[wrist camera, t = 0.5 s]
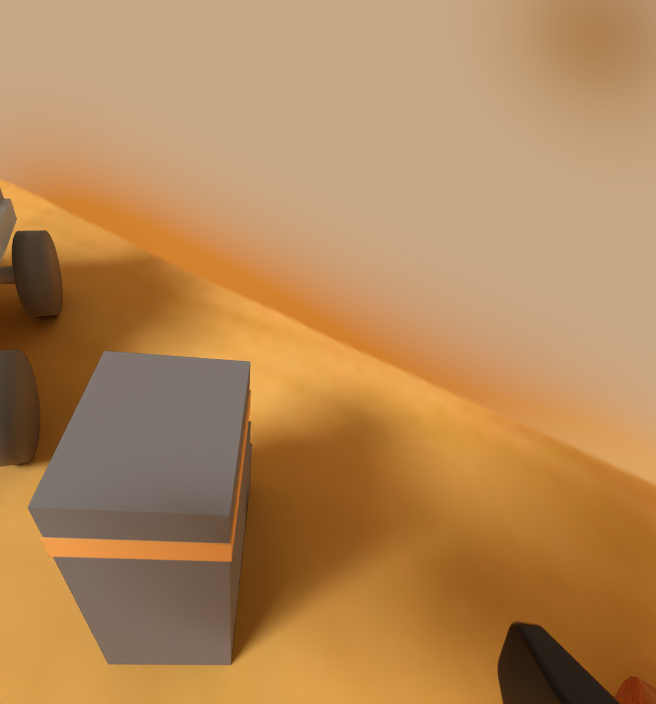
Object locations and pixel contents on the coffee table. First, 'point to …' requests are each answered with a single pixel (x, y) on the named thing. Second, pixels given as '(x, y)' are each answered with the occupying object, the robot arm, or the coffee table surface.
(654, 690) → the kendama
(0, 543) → the coffee table surface
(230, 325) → the coffee table surface
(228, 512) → the grey box
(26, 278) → the trolley
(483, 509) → the coffee table surface
